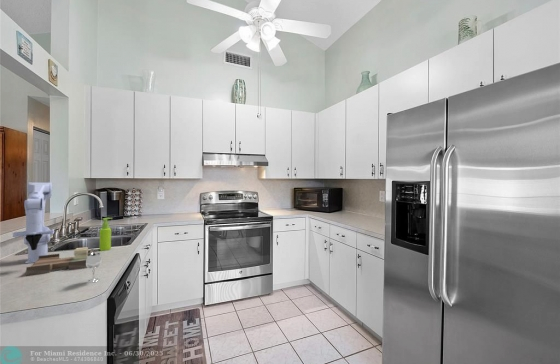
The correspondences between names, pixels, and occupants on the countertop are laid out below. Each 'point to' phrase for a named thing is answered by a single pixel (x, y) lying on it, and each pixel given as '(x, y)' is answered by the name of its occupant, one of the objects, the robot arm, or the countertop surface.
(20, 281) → the countertop surface
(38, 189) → the robot arm
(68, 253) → the countertop surface
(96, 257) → the wineglass
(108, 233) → the soap dispenser
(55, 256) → the track
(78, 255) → the maple block
